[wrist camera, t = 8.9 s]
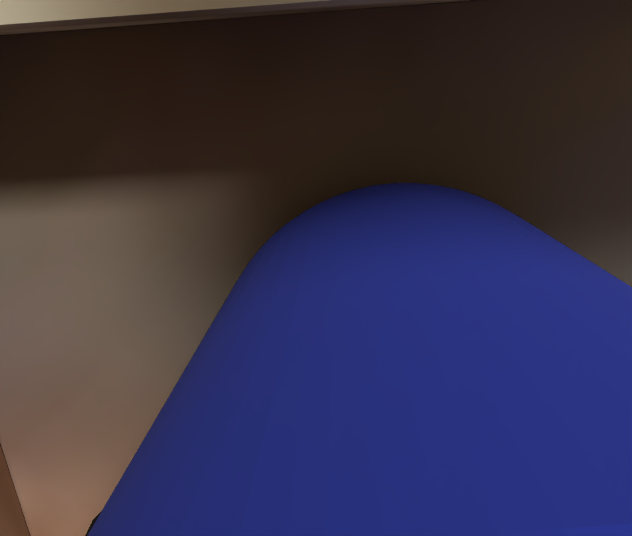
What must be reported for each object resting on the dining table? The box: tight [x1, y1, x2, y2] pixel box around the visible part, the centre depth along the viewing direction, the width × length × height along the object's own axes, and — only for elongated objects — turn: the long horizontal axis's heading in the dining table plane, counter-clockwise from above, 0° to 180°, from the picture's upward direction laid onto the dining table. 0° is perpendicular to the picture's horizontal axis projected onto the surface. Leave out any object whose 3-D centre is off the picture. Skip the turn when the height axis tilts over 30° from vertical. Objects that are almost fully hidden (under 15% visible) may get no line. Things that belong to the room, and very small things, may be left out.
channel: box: [0, 0, 469, 536], centre depth 11 cm, size 17×18×6 cm
